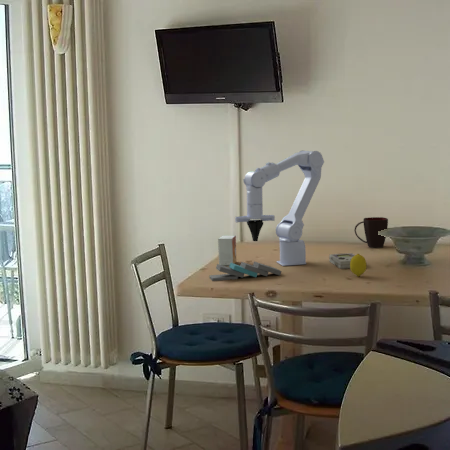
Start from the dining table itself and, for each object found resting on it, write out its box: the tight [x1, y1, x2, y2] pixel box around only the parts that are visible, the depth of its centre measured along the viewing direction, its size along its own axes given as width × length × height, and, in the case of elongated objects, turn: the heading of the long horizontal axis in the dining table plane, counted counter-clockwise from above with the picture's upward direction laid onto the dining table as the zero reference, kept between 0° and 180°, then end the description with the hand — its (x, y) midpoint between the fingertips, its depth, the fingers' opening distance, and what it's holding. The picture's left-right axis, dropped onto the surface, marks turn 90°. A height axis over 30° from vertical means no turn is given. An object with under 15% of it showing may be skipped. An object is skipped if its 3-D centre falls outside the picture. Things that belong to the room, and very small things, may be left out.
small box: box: [217, 235, 237, 266], centre depth 265 cm, size 8×6×10 cm
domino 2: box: [215, 263, 246, 279], centre depth 240 cm, size 2×5×9 cm
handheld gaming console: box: [328, 252, 356, 270], centre depth 256 cm, size 9×4×15 cm
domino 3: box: [239, 261, 270, 277], centre depth 241 cm, size 2×5×9 cm
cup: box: [354, 216, 389, 249], centre depth 290 cm, size 10×14×12 cm
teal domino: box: [228, 263, 259, 278], centre depth 240 cm, size 2×5×9 cm
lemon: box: [349, 253, 367, 277], centre depth 235 cm, size 6×6×8 cm
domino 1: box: [208, 273, 239, 282], centre depth 240 cm, size 2×5×9 cm
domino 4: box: [252, 260, 282, 276], centre depth 242 cm, size 2×5×9 cm
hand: (255, 240), depth 253 cm, fingers closed
